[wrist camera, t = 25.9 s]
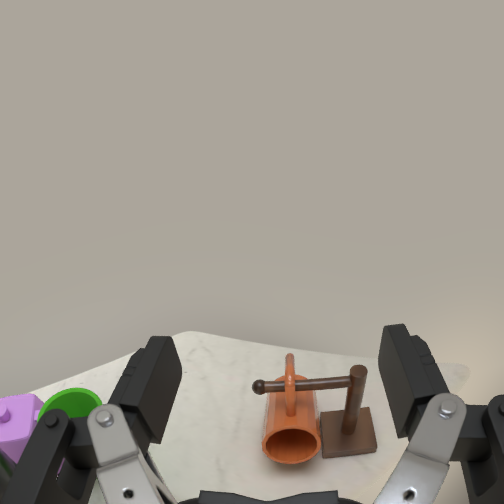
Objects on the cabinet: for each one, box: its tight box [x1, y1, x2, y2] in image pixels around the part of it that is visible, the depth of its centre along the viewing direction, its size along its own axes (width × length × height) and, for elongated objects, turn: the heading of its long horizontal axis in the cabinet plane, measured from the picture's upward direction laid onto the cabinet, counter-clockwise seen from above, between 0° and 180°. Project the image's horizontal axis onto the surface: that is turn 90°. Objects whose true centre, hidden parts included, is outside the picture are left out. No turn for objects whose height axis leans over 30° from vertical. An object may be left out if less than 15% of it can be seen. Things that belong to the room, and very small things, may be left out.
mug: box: [262, 353, 321, 464], centre depth 32 cm, size 10×6×10 cm
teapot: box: [0, 394, 65, 474], centre depth 29 cm, size 18×10×10 cm, turn 114°
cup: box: [37, 388, 102, 423], centre depth 29 cm, size 9×9×11 cm
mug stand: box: [252, 365, 377, 458], centre depth 32 cm, size 14×6×12 cm, turn 86°
